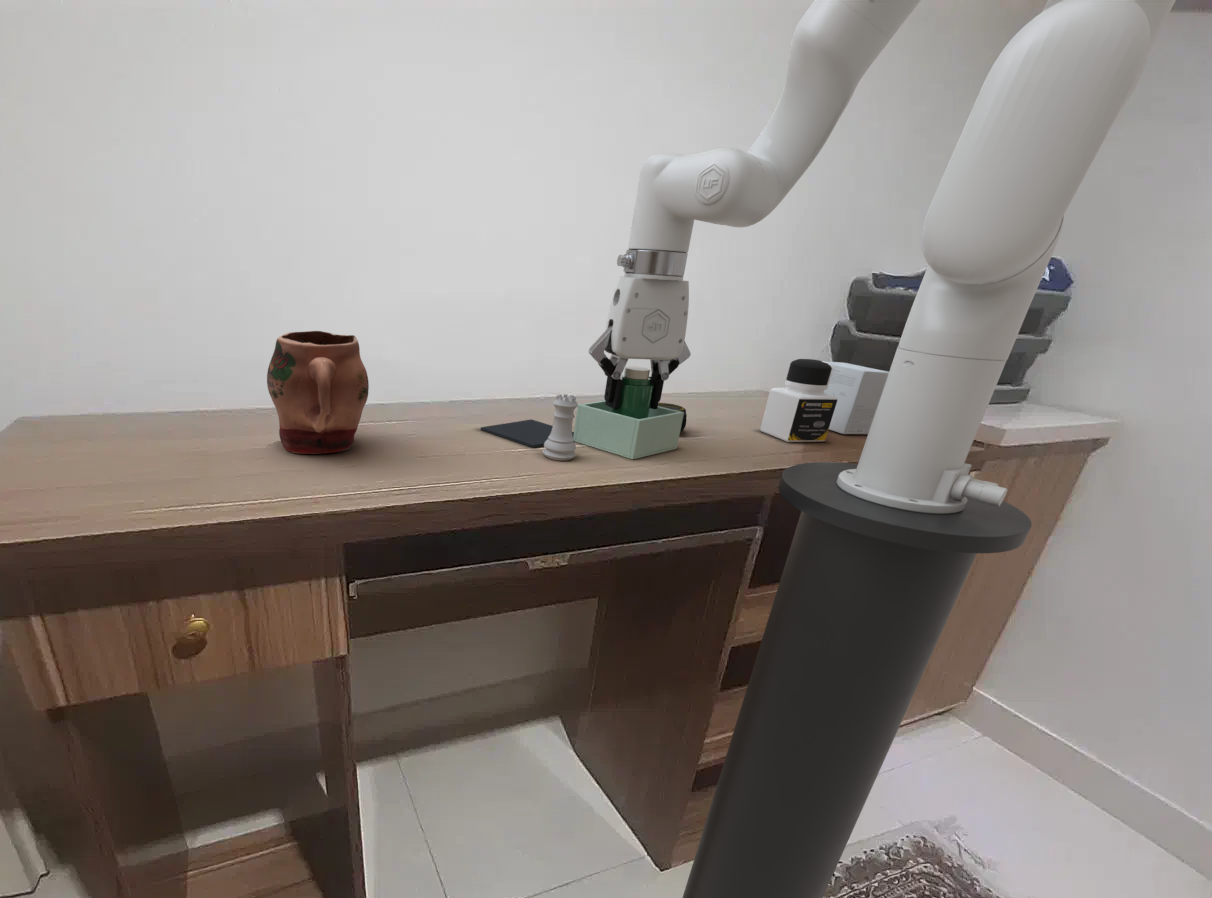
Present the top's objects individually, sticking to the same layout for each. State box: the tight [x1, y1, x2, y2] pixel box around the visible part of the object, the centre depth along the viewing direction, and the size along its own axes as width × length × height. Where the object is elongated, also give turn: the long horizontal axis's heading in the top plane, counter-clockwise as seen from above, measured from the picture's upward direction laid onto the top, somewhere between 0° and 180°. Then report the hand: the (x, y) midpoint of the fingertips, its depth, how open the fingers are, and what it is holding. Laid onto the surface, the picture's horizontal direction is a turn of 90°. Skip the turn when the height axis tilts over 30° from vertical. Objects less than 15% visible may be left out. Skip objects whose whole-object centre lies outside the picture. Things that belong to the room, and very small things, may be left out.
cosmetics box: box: [824, 361, 889, 435], centre depth 111 cm, size 10×6×10 cm, turn 15°
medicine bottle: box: [759, 358, 838, 443], centre depth 102 cm, size 7×7×12 cm
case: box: [573, 400, 684, 460], centre depth 93 cm, size 11×11×5 cm
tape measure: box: [658, 402, 688, 433], centre depth 103 cm, size 7×7×4 cm
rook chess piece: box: [542, 393, 579, 462], centre depth 85 cm, size 4×4×8 cm
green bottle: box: [611, 366, 654, 419], centre depth 92 cm, size 5×5×10 cm
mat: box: [480, 418, 574, 449], centre depth 96 cm, size 11×11×1 cm
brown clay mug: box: [266, 330, 370, 455], centre depth 80 cm, size 20×12×14 cm, turn 21°
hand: (631, 405), depth 92 cm, fingers closed on green bottle, 5 cm apart
